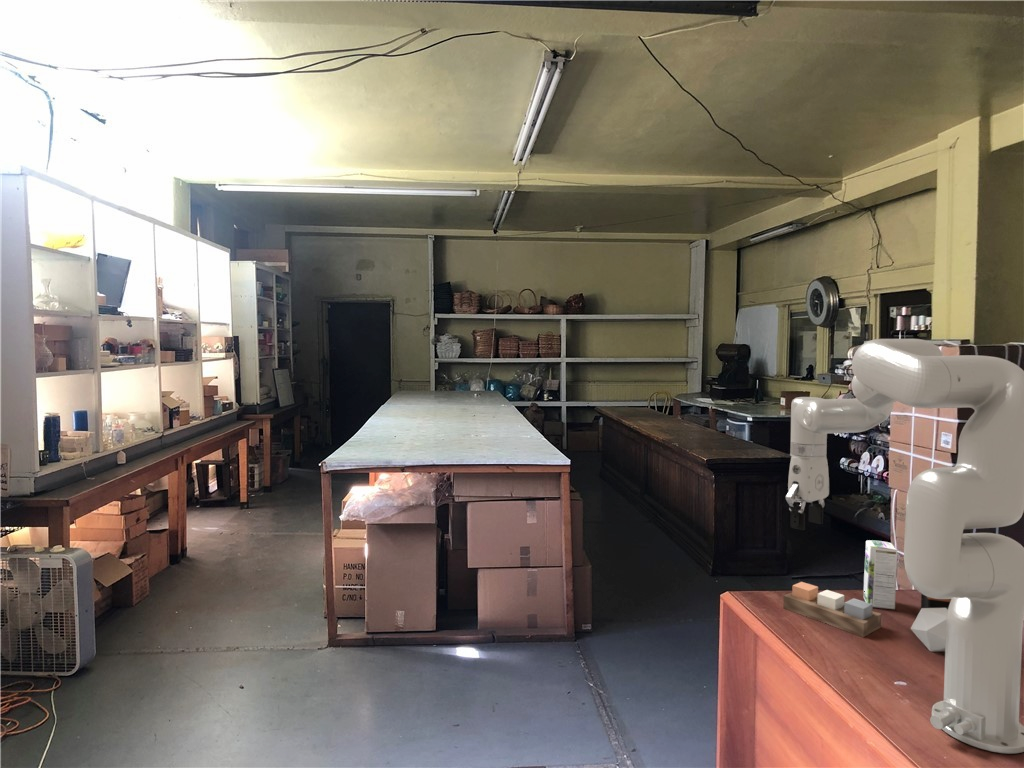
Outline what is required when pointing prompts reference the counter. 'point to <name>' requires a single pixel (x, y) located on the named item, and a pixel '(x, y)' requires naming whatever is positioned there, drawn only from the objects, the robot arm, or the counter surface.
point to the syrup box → (880, 574)
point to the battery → (934, 602)
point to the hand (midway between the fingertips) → (806, 525)
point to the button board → (832, 616)
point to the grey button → (858, 609)
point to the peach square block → (805, 591)
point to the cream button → (830, 599)
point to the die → (931, 628)
